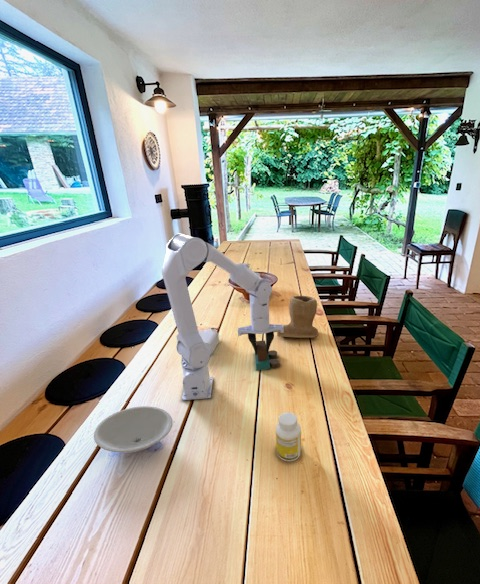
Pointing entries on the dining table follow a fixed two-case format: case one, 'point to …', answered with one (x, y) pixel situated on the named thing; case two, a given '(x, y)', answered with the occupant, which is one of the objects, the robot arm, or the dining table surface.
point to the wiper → (262, 356)
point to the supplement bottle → (288, 437)
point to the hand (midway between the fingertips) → (261, 352)
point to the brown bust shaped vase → (301, 318)
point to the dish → (133, 429)
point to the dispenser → (210, 339)
